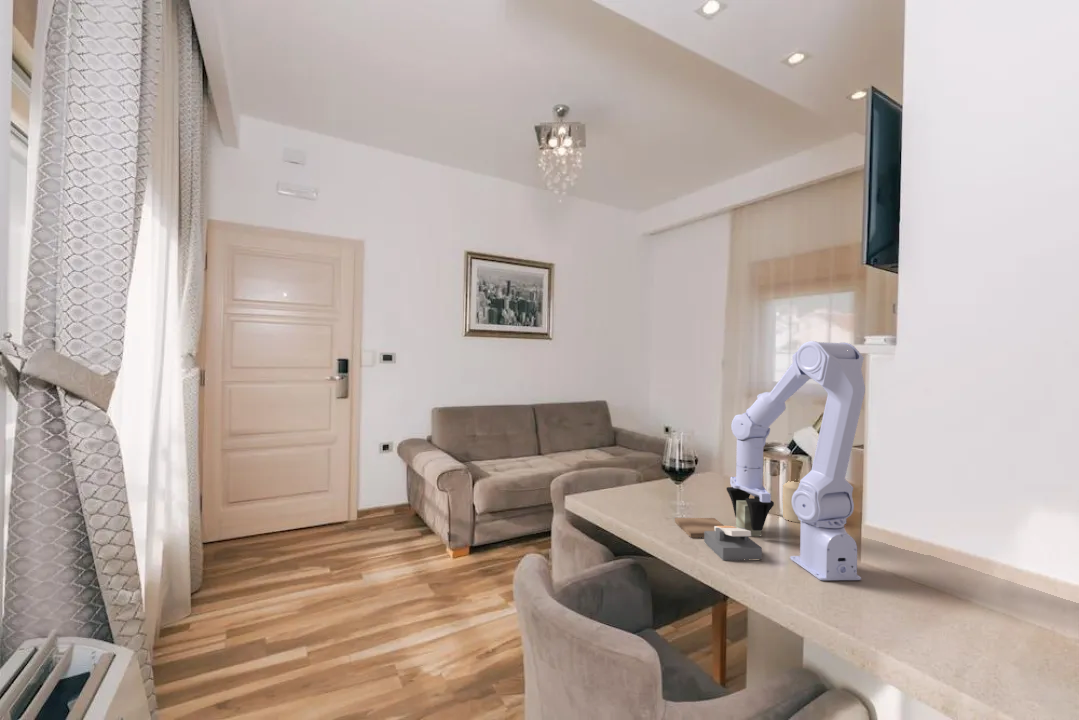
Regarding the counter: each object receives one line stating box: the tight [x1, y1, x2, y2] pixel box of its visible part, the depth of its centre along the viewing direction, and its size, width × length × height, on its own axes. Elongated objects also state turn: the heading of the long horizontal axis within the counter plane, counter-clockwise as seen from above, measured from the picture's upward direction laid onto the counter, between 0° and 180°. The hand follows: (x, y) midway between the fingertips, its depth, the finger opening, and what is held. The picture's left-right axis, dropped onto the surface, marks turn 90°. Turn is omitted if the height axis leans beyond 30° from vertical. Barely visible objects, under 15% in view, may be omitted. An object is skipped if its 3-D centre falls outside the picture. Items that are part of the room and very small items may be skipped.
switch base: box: [703, 528, 763, 561], centre depth 95 cm, size 9×8×4 cm
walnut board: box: [674, 517, 725, 539], centre depth 107 cm, size 10×10×1 cm
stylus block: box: [735, 500, 762, 537], centre depth 106 cm, size 4×4×7 cm
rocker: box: [714, 525, 752, 537], centre depth 95 cm, size 8×4×1 cm, turn 3°
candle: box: [782, 481, 801, 524], centre depth 116 cm, size 6×6×10 cm
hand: (748, 523), depth 106 cm, fingers open, 7 cm apart
